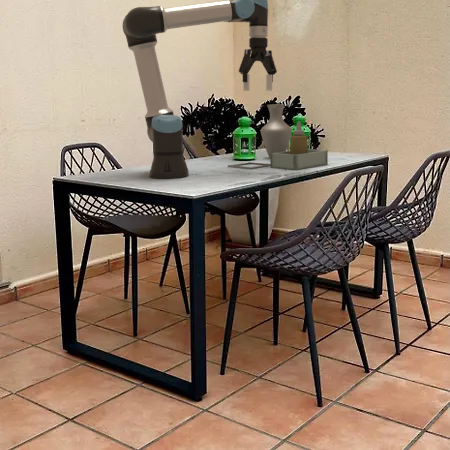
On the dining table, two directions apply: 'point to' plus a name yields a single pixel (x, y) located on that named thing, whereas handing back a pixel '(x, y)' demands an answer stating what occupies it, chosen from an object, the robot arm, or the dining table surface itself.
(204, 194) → the dining table surface
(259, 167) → the brown flat square frame
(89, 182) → the dining table surface
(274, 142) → the vase
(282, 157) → the bin
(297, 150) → the squeeze bottle
